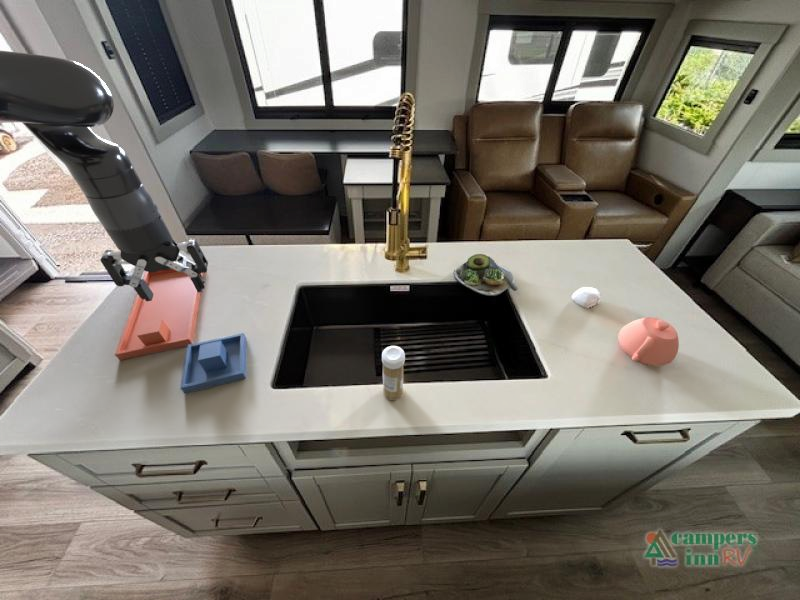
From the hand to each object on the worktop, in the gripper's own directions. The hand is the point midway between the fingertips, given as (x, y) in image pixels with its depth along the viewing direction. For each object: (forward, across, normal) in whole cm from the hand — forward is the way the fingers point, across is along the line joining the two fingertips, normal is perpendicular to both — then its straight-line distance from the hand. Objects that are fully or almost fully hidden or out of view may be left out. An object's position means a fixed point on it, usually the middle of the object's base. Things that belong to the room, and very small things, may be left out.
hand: (176, 293), depth 61 cm
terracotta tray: (+22, -14, +25) cm, 36 cm away
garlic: (+22, +101, -9) cm, 104 cm away
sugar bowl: (+22, +100, -29) cm, 106 cm away
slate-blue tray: (+22, 0, 0) cm, 22 cm away
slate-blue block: (+22, 0, 0) cm, 22 cm away
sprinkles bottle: (+22, +37, -20) cm, 48 cm away
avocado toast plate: (+22, +77, +10) cm, 81 cm away
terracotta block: (+22, -14, +12) cm, 28 cm away
